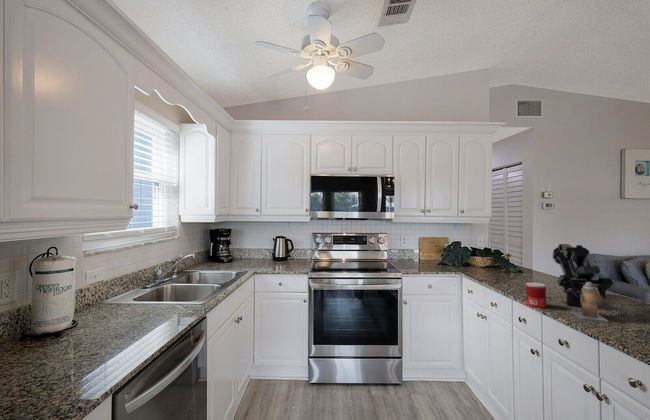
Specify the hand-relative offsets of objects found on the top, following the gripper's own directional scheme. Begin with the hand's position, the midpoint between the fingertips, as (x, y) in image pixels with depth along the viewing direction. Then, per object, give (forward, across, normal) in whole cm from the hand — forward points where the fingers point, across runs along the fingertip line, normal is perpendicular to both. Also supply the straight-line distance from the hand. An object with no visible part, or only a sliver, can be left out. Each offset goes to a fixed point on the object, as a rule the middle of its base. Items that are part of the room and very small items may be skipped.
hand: (591, 298), depth 125 cm
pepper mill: (+5, 0, +7) cm, 8 cm away
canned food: (-2, -17, +15) cm, 23 cm away
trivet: (+5, 0, +7) cm, 9 cm away
